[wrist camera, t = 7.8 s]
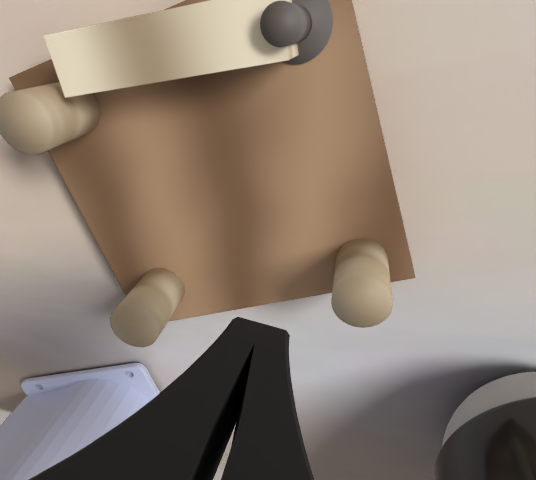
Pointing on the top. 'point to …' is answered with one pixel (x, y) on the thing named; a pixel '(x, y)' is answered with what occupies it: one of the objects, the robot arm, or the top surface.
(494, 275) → the top surface
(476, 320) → the top surface
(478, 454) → the dark grey tapered dome
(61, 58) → the hinged leg
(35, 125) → the stool seat
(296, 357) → the top surface
